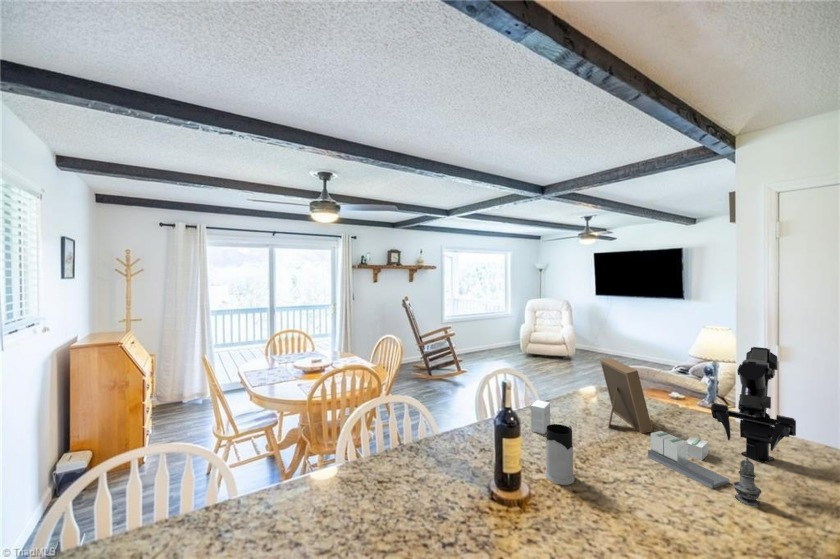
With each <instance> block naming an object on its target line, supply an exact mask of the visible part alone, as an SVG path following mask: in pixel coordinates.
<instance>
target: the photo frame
mask: <svg viewBox="0 0 840 559" xmlns="http://www.w3.org/2000/svg"><path fill="white" fill-rule="evenodd" d="M599 362H600V365H601V369H602V373H603V377H604V381H605V386H606V388H607V392H608V396H609V400H610V404H611V412H610V415H609V421H608V428H607V429H610V428H611V425H612V419H613V413H614V414H615V415H616V416H617V417H618V418H620V419H622V420H623V421H625V423H627V424H629V425H630V426H631V427H633V428H634V429H636V431H638V432H640V434H646V433H650V432H651V433H652V432H653V427H652V423H651V418H650V415H649V410H648V407H647V403H646V399H645V395H644V391H643V390H644V389H643V387H642V386H643V385H642V384H641V379H640V375H639V370H638V369H635V368H633V367H631V366H629V365H626V364H624V363H622V362H619V361H618V360H615V359H614V358H611V357H606V358H603V359H600V361H599Z"/></svg>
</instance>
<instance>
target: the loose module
mask: <svg viewBox="0 0 840 559" xmlns="http://www.w3.org/2000/svg"><path fill="white" fill-rule="evenodd" d="M686 441H687V442H688V458H692V459H695V460H698V461H703V460H704V459H705V458H707V456H708V455H709V441H707V440H703V439H701V438H696V437H693V436H690V437H689V438H688V439H686Z"/></svg>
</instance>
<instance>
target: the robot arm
mask: <svg viewBox="0 0 840 559" xmlns="http://www.w3.org/2000/svg"><path fill="white" fill-rule="evenodd" d="M745 356H746V357H745V359H744V360H743V361H742V363H740V364H739V366H738V368H737V375H738V376H739V380H740V384H741V390H740V391H741V392H740V394H739V400H738V406H737V407H738V410H739V411H735V410H732V409H731V410H730V409H729V405H728V404H723V403H717V402H714V403H713V402H712V404H711V405H710V411H711V416H712V418H713V419H715V420H716V421H717V422H718V423H721V425H722V426H723V428H724V430H725V434H726V437H727V440H728V441H731V422H730V418H734V419H739V420H740V421H739V432H740V438H743V439H746V440H745V451H742V452H740V455H742V456H745V457H746V458H748V459H749V458H750V459H752V460H755V461H757V462H760V463H763V464H766V463H768V462H770V461H771V462H772V461H774V460H775V457H774V456H770V451H771V452H773V451H774V450H775V448H776V447H777V445H778V444H779V442H780V441H781V440H782V439H784V437H785V438H789V437H790V436H793V437H795V436H796V435H797V421H796V419H795V418H794V417H789V416H786V415H785V416H784V415H779V414H776V418H771V416H770V414H769V413H767V411H768V410H767V409H769V410H771V409H772V397H771V396H769V395H768V394H769V393H768V392H769V381H770V380H772V379H773V378H775V375H776V371H778V370H779V361H778V360H779V359H778V356H777V355H776V354H774V353H773V352H771V349H770V348H768V347H759V346H753V347H751V348H750V350H749V351H747V352H746V354H745Z"/></svg>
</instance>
